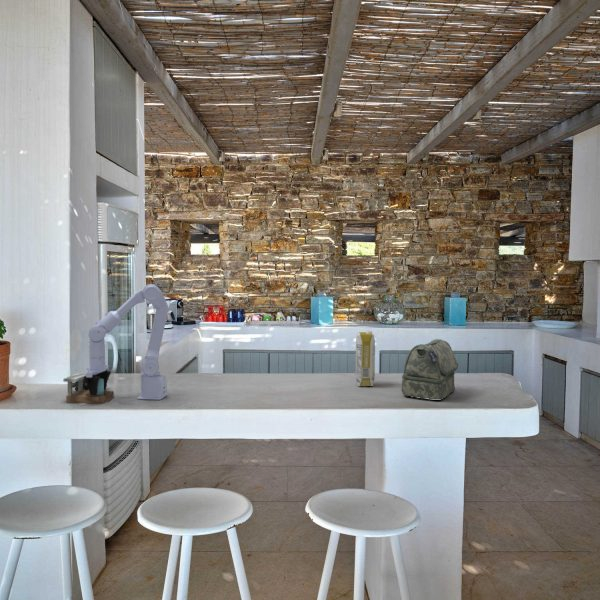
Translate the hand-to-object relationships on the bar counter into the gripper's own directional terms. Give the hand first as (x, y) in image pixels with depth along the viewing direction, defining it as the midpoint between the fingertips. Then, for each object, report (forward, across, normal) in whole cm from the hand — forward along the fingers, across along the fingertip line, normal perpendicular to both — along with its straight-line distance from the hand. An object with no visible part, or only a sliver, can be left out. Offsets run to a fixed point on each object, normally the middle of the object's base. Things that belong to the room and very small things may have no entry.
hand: (98, 392), depth 211 cm
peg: (+3, 0, 0) cm, 3 cm away
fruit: (+3, -15, -10) cm, 18 cm away
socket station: (+3, 0, -3) cm, 4 cm away
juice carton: (+3, -40, +102) cm, 110 cm away
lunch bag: (+3, -27, +128) cm, 131 cm away
